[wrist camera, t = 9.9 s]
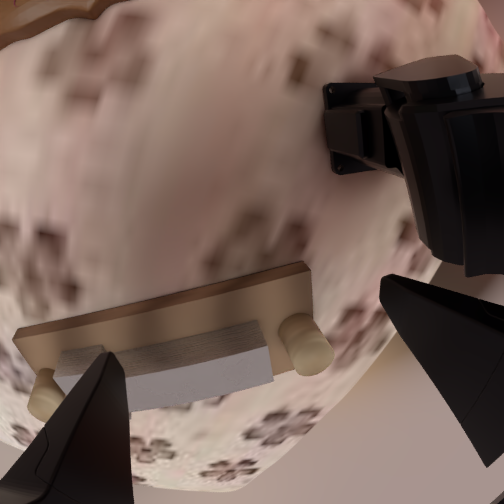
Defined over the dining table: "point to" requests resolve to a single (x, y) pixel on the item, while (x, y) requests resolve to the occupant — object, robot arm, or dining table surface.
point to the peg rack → (187, 327)
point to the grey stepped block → (181, 367)
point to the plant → (43, 16)
